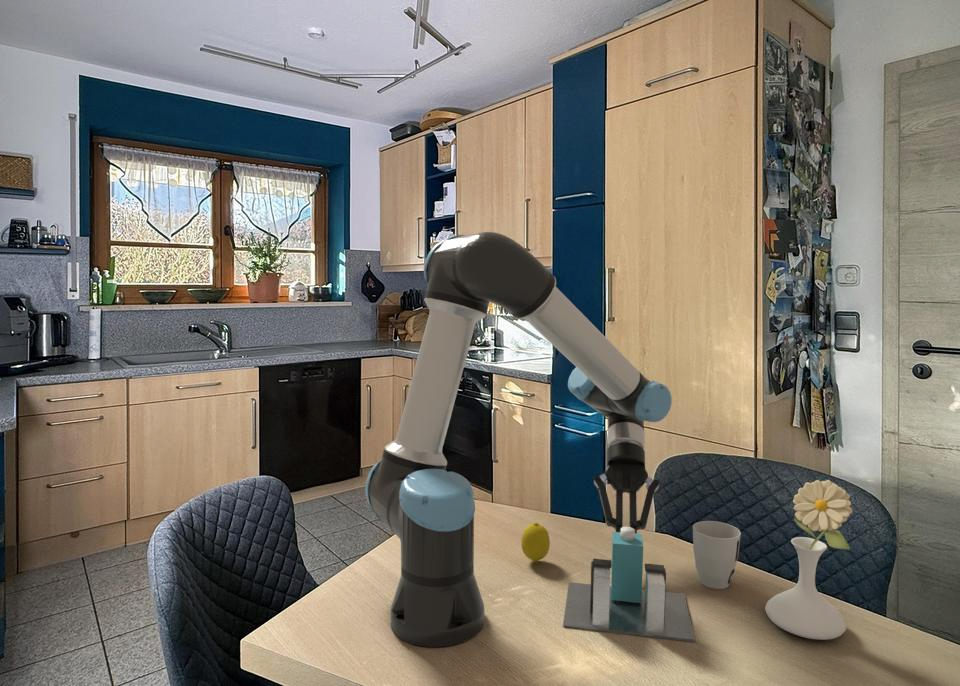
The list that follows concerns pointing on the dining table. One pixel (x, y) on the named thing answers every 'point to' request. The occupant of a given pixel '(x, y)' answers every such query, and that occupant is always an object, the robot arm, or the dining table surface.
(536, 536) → the lemon
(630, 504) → the robot arm
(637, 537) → the teal post
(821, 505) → the flower in vase
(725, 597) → the dining table surface
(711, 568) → the cup
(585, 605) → the steel clamp
